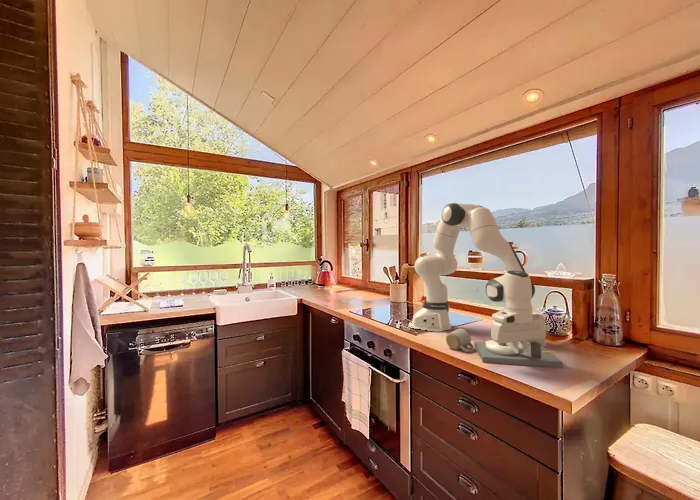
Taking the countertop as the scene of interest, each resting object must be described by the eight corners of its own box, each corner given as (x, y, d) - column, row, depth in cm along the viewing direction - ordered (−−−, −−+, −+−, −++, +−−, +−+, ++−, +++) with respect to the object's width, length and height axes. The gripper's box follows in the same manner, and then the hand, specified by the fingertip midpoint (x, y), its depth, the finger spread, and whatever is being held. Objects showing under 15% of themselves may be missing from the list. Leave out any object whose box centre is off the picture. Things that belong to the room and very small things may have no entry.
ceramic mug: (444, 347, 125) (444, 330, 124) (455, 343, 129) (455, 326, 129) (467, 355, 116) (467, 336, 116) (478, 350, 121) (478, 332, 121)
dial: (479, 348, 117) (479, 333, 117) (497, 342, 123) (496, 328, 123) (531, 364, 99) (531, 347, 99) (549, 357, 106) (548, 341, 106)
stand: (482, 362, 108) (482, 356, 108) (474, 346, 126) (474, 340, 126) (562, 367, 102) (562, 361, 102) (541, 349, 119) (541, 344, 119)
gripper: (536, 311, 110) (536, 347, 111) (488, 315, 107) (488, 352, 107) (550, 315, 104) (550, 353, 104) (499, 319, 101) (500, 358, 101)
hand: (519, 352), depth 106 cm, fingers closed
